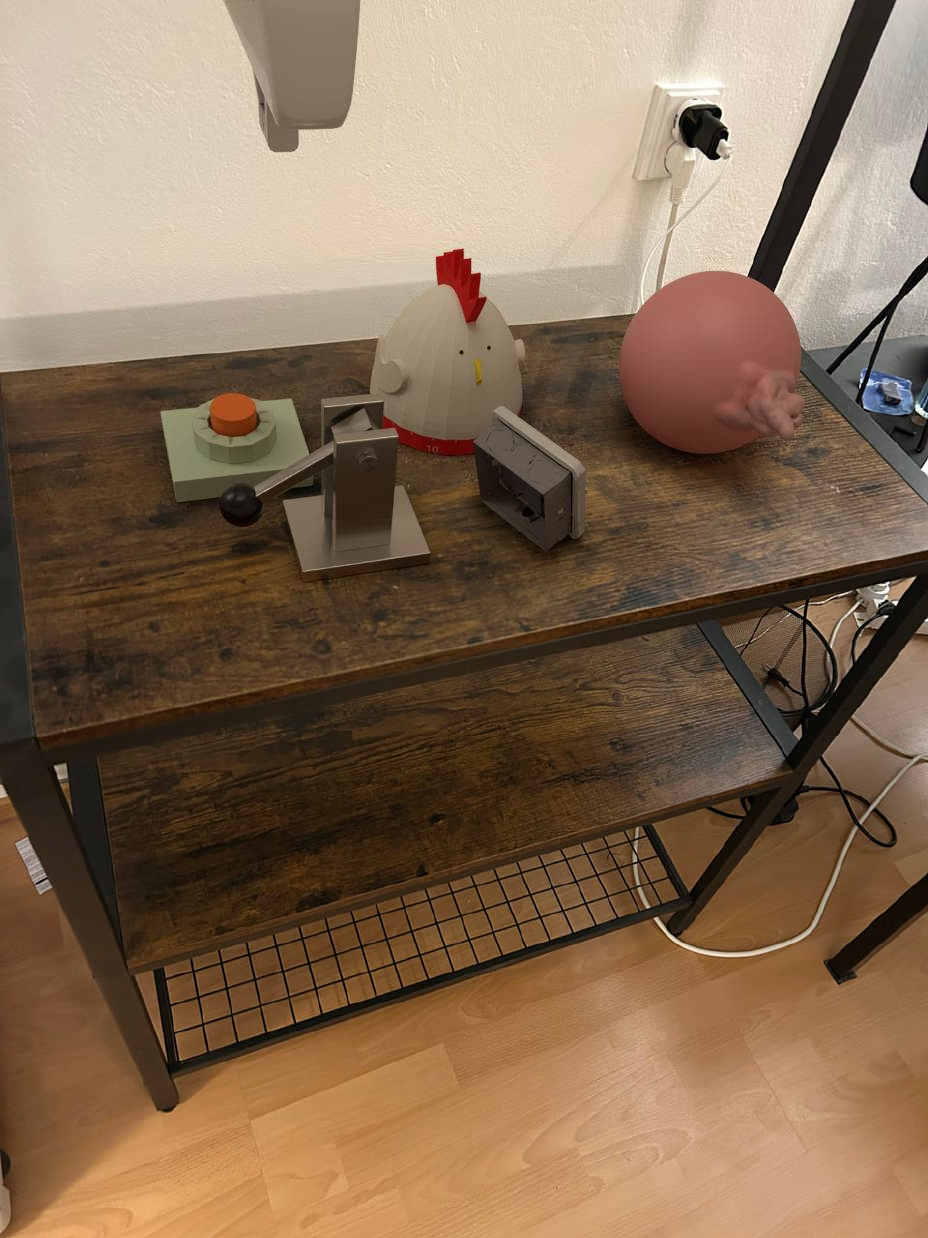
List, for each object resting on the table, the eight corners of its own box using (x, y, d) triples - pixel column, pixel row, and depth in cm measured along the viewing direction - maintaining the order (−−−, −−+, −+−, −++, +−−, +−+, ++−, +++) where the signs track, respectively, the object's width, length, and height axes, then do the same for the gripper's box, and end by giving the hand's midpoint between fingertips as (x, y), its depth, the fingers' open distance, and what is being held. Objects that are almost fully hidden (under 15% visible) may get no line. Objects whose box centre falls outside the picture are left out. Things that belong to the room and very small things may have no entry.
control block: (176, 502, 77) (170, 464, 74) (163, 431, 83) (157, 392, 80) (313, 485, 80) (312, 448, 77) (292, 418, 86) (290, 380, 83)
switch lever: (239, 542, 71) (213, 518, 69) (232, 513, 73) (207, 488, 71) (391, 455, 69) (370, 427, 67) (380, 427, 71) (359, 399, 69)
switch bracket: (302, 582, 73) (300, 462, 64) (282, 510, 78) (277, 389, 69) (429, 563, 76) (443, 445, 67) (402, 495, 81) (412, 376, 72)
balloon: (663, 536, 81) (721, 383, 69) (577, 391, 93) (614, 240, 81) (820, 513, 85) (899, 365, 74) (718, 377, 97) (772, 232, 85)
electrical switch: (585, 538, 80) (601, 455, 72) (541, 570, 77) (554, 487, 70) (504, 477, 84) (513, 392, 76) (461, 506, 81) (465, 421, 74)
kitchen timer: (402, 467, 83) (414, 312, 72) (347, 374, 91) (351, 220, 79) (544, 438, 88) (577, 288, 76) (481, 352, 95) (503, 204, 84)
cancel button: (215, 440, 77) (213, 422, 76) (208, 412, 79) (206, 394, 78) (260, 435, 78) (259, 418, 77) (252, 408, 80) (251, 390, 79)
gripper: (176, -206, 52) (199, 70, 63) (238, -90, 40) (255, 228, 50) (292, -197, 54) (296, 69, 64) (386, -84, 42) (372, 223, 52)
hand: (278, 141), depth 57 cm, fingers closed
